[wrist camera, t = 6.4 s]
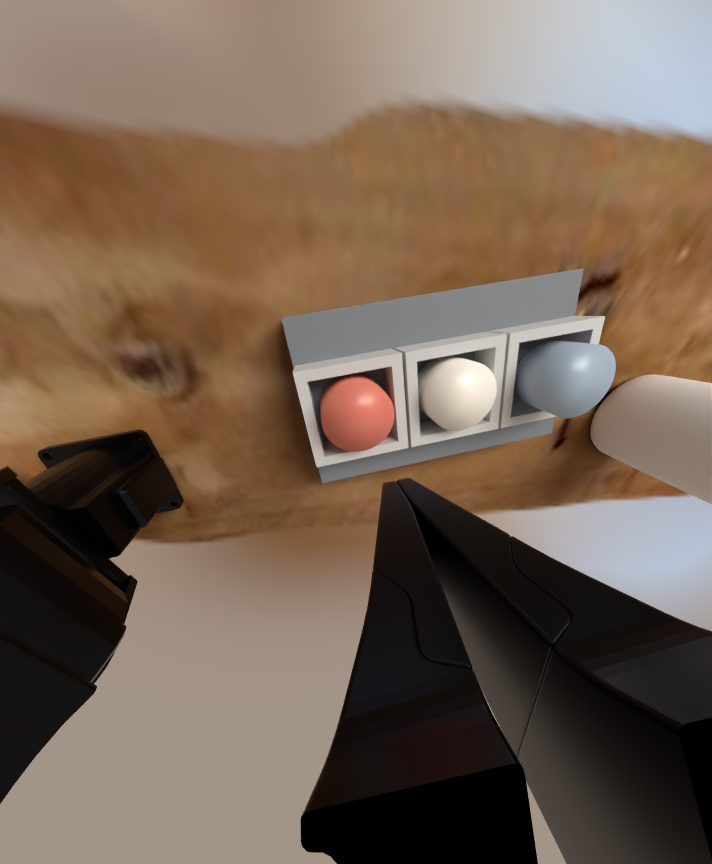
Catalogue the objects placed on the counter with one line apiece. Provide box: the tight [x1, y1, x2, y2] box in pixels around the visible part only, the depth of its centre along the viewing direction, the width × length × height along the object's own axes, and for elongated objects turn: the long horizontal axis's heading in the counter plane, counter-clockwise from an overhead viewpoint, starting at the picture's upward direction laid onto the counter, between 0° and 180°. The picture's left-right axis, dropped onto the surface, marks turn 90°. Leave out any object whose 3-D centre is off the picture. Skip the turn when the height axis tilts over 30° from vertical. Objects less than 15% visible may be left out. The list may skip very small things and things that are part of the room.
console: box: [281, 269, 605, 483], centre depth 17 cm, size 18×11×4 cm, turn 99°
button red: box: [320, 373, 394, 452], centre depth 15 cm, size 4×4×2 cm
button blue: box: [514, 340, 616, 418], centre depth 15 cm, size 4×4×2 cm
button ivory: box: [418, 355, 497, 431], centre depth 16 cm, size 4×4×2 cm
